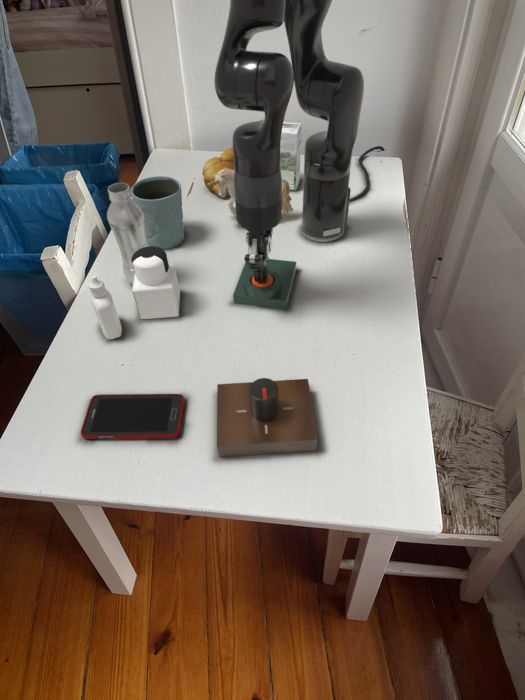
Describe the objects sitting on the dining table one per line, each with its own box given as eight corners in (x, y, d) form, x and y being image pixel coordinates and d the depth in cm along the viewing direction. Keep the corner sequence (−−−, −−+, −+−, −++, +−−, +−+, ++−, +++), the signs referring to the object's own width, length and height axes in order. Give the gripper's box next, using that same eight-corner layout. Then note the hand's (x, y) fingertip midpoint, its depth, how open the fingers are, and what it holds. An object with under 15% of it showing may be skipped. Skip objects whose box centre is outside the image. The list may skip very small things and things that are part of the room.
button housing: (248, 265, 99) (247, 249, 96) (296, 270, 98) (296, 254, 95) (233, 305, 91) (231, 288, 88) (285, 311, 90) (285, 295, 87)
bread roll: (239, 200, 117) (237, 168, 111) (199, 200, 118) (195, 169, 112) (243, 174, 126) (241, 144, 120) (206, 174, 126) (202, 144, 120)
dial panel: (307, 390, 77) (308, 377, 75) (316, 450, 69) (317, 438, 67) (219, 396, 77) (217, 383, 74) (218, 457, 69) (216, 445, 67)
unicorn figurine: (204, 224, 110) (196, 168, 100) (281, 204, 115) (281, 149, 105) (214, 241, 106) (207, 184, 96) (294, 219, 111) (296, 163, 101)
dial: (249, 400, 72) (248, 378, 68) (276, 397, 72) (276, 375, 68) (252, 423, 69) (250, 400, 65) (280, 419, 70) (280, 397, 66)
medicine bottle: (143, 295, 94) (129, 243, 85) (180, 292, 94) (169, 240, 85) (140, 320, 89) (124, 267, 80) (179, 317, 89) (167, 264, 81)
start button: (254, 279, 93) (254, 271, 91) (275, 281, 92) (274, 274, 91) (249, 292, 90) (249, 285, 89) (271, 294, 89) (270, 287, 88)
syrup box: (300, 180, 123) (302, 121, 112) (296, 191, 119) (297, 132, 108) (278, 178, 124) (278, 120, 113) (273, 189, 120) (272, 130, 109)
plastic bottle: (153, 292, 94) (129, 199, 80) (121, 288, 96) (92, 195, 81) (164, 271, 99) (144, 180, 84) (133, 268, 100) (107, 177, 85)
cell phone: (179, 439, 71) (178, 435, 70) (80, 439, 72) (78, 436, 71) (185, 397, 76) (184, 393, 76) (93, 398, 77) (91, 394, 76)
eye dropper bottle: (128, 319, 89) (112, 267, 81) (119, 341, 86) (100, 288, 77) (105, 318, 90) (86, 266, 81) (95, 339, 86) (74, 287, 77)
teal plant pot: (134, 245, 105) (120, 195, 97) (157, 221, 112) (147, 172, 103) (174, 255, 103) (165, 204, 94) (196, 229, 109) (189, 179, 100)
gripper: (273, 218, 72) (274, 305, 85) (288, 175, 81) (287, 260, 93) (224, 214, 73) (232, 300, 86) (244, 172, 82) (249, 256, 95)
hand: (261, 279), depth 90 cm, fingers closed
